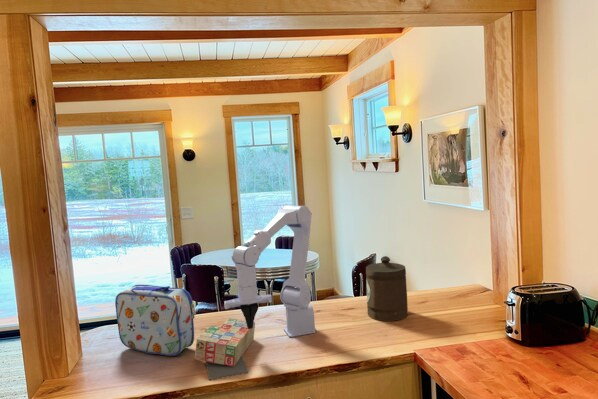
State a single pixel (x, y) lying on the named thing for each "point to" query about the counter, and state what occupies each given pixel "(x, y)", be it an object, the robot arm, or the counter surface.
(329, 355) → the counter surface
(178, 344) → the lunch box
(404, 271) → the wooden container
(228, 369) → the mat
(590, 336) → the counter surface
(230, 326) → the stack of blocks
